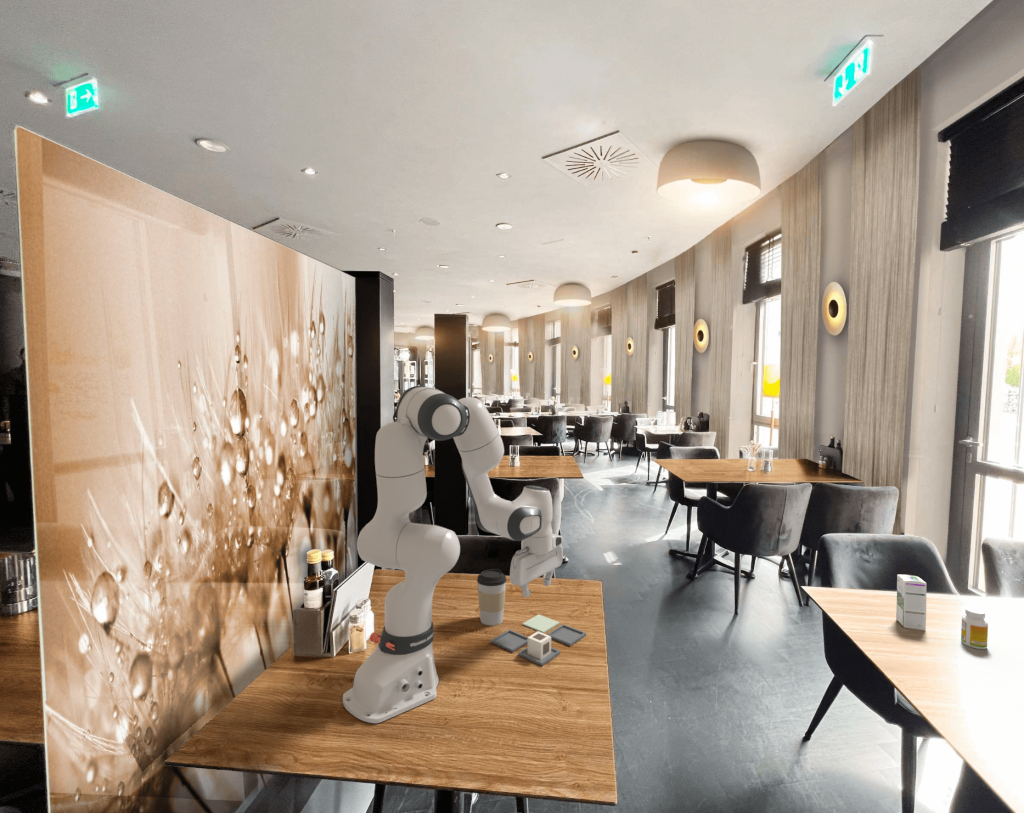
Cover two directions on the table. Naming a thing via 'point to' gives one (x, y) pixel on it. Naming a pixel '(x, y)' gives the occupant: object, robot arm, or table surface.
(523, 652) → the tray
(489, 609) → the coffee cup
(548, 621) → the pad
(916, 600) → the syrup box
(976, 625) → the supplement bottle
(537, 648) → the letter cube
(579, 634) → the tray
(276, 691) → the table surface
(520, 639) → the tray
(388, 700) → the robot arm
